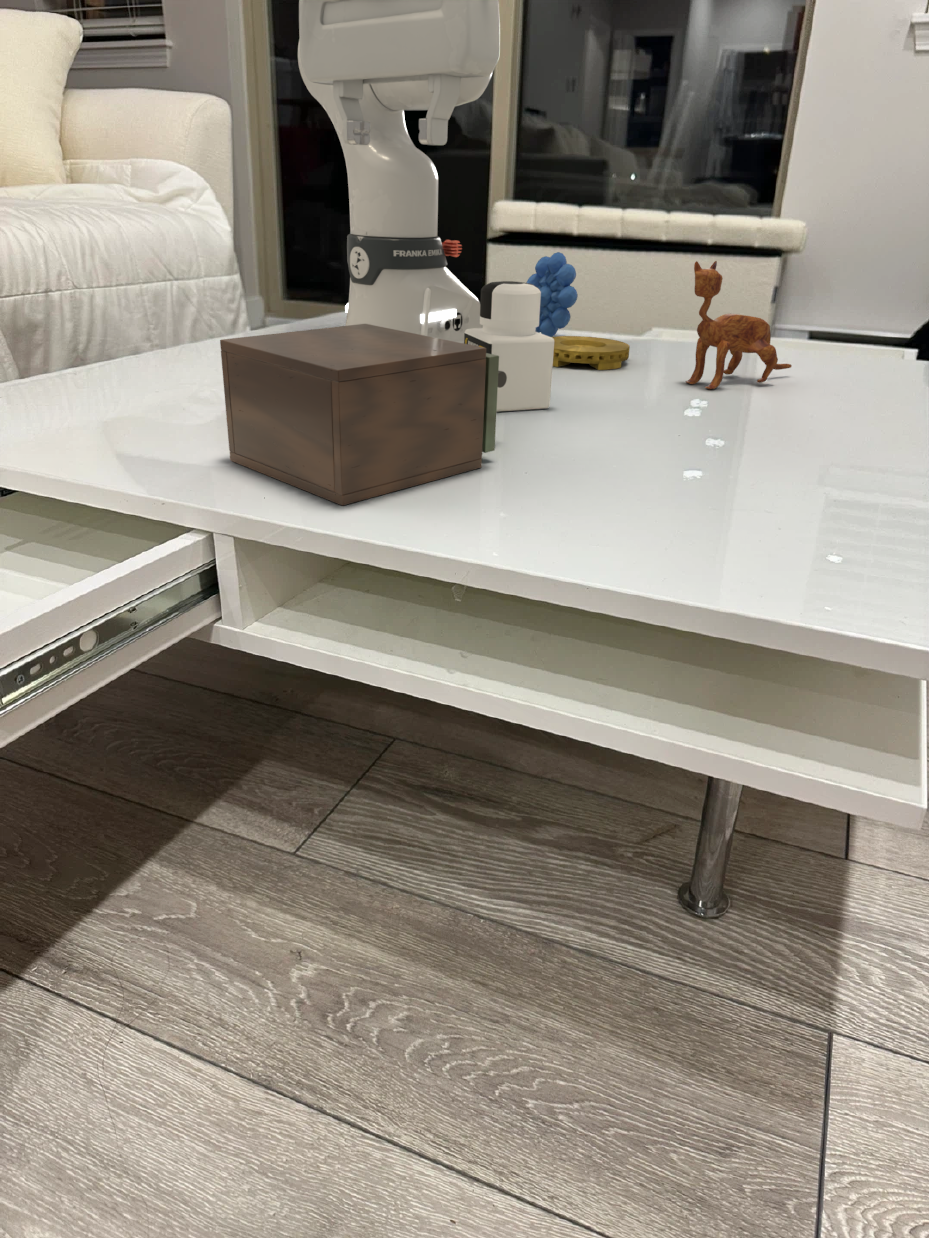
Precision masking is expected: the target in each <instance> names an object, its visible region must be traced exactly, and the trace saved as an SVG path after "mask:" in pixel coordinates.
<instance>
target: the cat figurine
mask: <svg viewBox="0 0 929 1238" xmlns="http://www.w3.org/2000/svg"><path fill="white" fill-rule="evenodd" d="M717 266H718V262H717V260H715V261H714V262H713V263H712V264H711V266H710V267H709V268H702V267H701V265H700V263H699V261H697V260H696V261H695V262H694V264H693V273H694V295H695V296H697V297H700V298H703V299H704V300H703V303H702V304H701V306H700V308H699V311H698V315H699V317H700V318H701V319H702V320H701V321H700V323H699V324H698V325H697V328H696V333H697V335H698V337H699V338H698V339H697V341H696V348H695V365H694V369H693V372H692V375H691V376H690V377H689V378H688V379H687V380H685V383H686V384H689V385H695V384H697V383H699V382H700V381H701V379H702V378H703V375H704V372H705V365H706V355H707V352H708V350H709V348H710V347H713V348H716V357H715V372H714V376H713V378H712V380H711V382H710V384H708V385H707V386H705V387H704V388H705V389H707V390H715V389H717V388H718V387H719V386H720V385H721V383H722V381H723V378H724V375H733V373H734V372H735V370H736V369H737V368H738V366H739V365H740V364H741V362H742V360H743V353H745V354H757V356H758V357H759V359H760V360H761V362H763V363H764V365H765V368H764V370H763V372H762V374H761V377H760V378H757V380H756V383H760V384H761V383H765V382H766V381H767V379H768V377H769V376H770V374H771V373H772V372H773V370H775V371H780V370H786V369H791V368H792V364H790V363H778V361H779V358H778V354H777V349H776V347H775V346H774V345H773V344H771V338H772V334H771V333H772V332H771V326H770V324H769V323H768V322H767V321H766V320H765V319H763V318H761V317H757V316H752V315H745V314H739V313H732V312H731V313H724V314H722V315H720V316H718V317H716V318H714V319H712V318H711V317H709V315H708V314H707V313H708V312H709V309H710V306H711V304H712V301H713V300H712V299H713V298H714V297H715V296H717V295H719V294H720V293H721V289H722V283H723V275H722V274H721V273H719V271H718V270H716V269H717ZM728 352H729V353H730V354H731V358H730V360H729V362H728V365H727V368H726V369H725V366H726V365H725V364H726V358H727V355H728Z"/></svg>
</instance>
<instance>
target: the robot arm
mask: <svg viewBox="0 0 929 1238" xmlns="http://www.w3.org/2000/svg"><path fill="white" fill-rule="evenodd" d="M499 1H500V0H298V29H299V31H298V32H299V33H298V34H299V36H298V37H299V39H298V45H297V62H298V68H299V73H300V76H301V79H302V81H303V83H304V85H305V86H306V89H307V90H308V92H309V93H310V95H311V96H312V97H313V98H314V99H315V100H316V101H317V102H318V103H319V105H321V107H322V108H323V109H324V110H325V112H326V114H327V116H328V118H329V119H330V121H331V122H332V124H333V127H334V129H335V132H336V134H337V137H338V139H339V142H340V146H341V149H342V152H343V157H344V161H345V166H346V173H347V184H348V185H347V187H348V199H349V200H348V201H349V203H348V204H349V227H350V228H349V229H350V232H349V234H347V236H346V238H347V239H346V255H347V256H346V260H347V262H346V263H347V267H348V272H349V292H348V302H347V303H346V305H345V306H344V310H345V311H344V312H345V313H346V320H345V325H344V326H349V325H358V324H369V325H374V326H379V327H384V328H389V329H394V330H399V331H404V332H409V333H414V334H419V335H424V336H429V337H434V338H439V339H444V340H449V341H454V342H459V343H464V332H465V330H467V329H473V328H483V325H481V324H480V300H479V298H478V297H477V296H476V295H475V294H474V293H473V292H472V291H470V290H469V288H468V287H467V286H465V285H464V283H462V281H460V279H458V277H457V276H456V275H455V274H454V273H453V272H451V270H450V269H449V268H448V267H447V266H448V260H447V257H449V256H450V257H453V258H458V257H459V256H461V253H462V250H463V248H462V247H463V245H462V244H460V243H461V242H460V240H455V239H454V240H451V239H445V240H444V241H443V242H442V239H441V237H440V236H438V228H439V227H438V225H439V223H438V221H439V220H438V219H439V216H438V215H439V175H438V171H437V168H436V165H435V164H434V162H433V160H432V159H431V158H430V157H429V156H428V155H427V154H425V152H423V151H422V150H421V149H419V148H417V147H416V145H415V144H414V142H413V140H412V139H411V137H410V134H409V132H408V129H407V125H406V120H405V111H427V112H426V115H425V117H423V118H418V130H419V133H418V141H419V143H420V144H421V145H427V146H444V145H446V144H447V142H448V130H449V129H448V128H449V127H448V126H449V120H450V118H451V116H452V114H453V112H454V109H455V108H456V107H459V106H462V105H465V104H469V103H472V102H475V101H477V100H478V99H479V98H480V97H481V96H482V95H483V94H484V92H485V91H486V89H487V87H489V84H490V81H491V79H492V76H493V73H494V71H495V68H496V66H497V64H498V63H499V60H500V53H501V22H500V21H501V20H500V19H501V18H500V17H501V16H500V2H499Z"/></svg>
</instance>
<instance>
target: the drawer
mask: <svg viewBox="0 0 929 1238" xmlns="http://www.w3.org/2000/svg"><path fill="white" fill-rule="evenodd" d="M498 369H499V356H498V355H493V354H488V353H486V371H485V395H484V420H483V444H482V453H485V454H486V453H490V452H493V451H495V449H496V429H497V412H496V411H497V390H498V387H499V388H501V387H503V386H504V385H505V384H506V381H507V376H506V373H505V372H503V371H499V370H498Z"/></svg>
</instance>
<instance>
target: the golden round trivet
mask: <svg viewBox="0 0 929 1238" xmlns="http://www.w3.org/2000/svg"><path fill="white" fill-rule="evenodd" d="M552 338H553V339H554V353H553V367H556V368H559V367H563V366H567V365H570V364H571V363H572V364H573V363H574V364H589V366H591V367H592V368H594V369H596V370H597V371H604V370H605V371H607V370H615V369H616V370H617V369H621V368H622V363H623V362H626V361H628V360H629V359H630V358H629V357H630V356H629V355H630V349H631V347H630V346H631V345H630V344H629V343H626V342H623V341H621V340H617V339H611V338H606V337H605V338H604V337H597V336H583V335H558V336H557V335H556V336H553V337H552Z"/></svg>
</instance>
